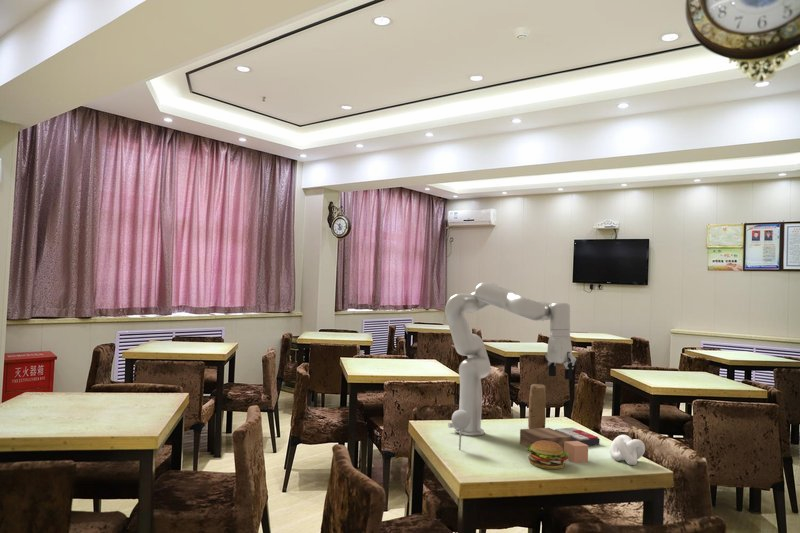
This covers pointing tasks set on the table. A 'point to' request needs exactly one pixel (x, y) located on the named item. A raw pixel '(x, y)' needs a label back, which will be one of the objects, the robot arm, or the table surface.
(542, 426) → the brown rock
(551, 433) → the walnut block
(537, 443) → the food
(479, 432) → the robot arm
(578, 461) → the terracotta cube
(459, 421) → the lollipop
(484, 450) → the table surface
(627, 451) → the white knot
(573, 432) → the calculator
